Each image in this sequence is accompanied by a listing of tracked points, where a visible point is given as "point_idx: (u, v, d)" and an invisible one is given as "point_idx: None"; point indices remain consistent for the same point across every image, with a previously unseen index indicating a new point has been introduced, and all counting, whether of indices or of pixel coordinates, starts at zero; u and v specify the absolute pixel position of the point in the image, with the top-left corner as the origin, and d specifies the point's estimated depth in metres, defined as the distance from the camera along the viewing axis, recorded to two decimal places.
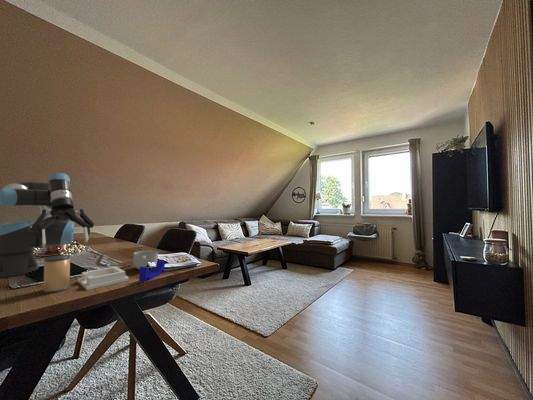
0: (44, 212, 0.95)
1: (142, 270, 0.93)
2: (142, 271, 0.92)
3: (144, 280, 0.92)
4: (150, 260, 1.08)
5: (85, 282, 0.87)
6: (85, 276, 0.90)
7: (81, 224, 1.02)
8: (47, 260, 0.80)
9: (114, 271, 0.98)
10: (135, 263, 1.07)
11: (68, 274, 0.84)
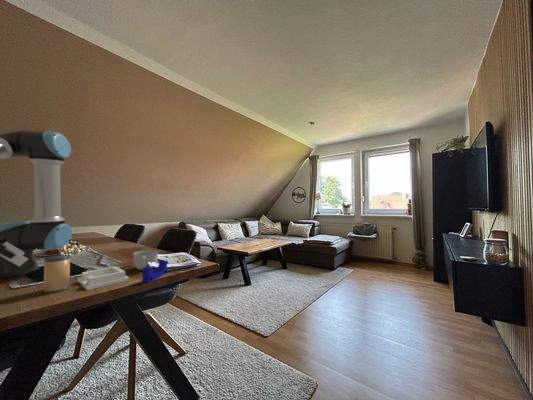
0: None
1: (145, 270, 0.92)
2: (145, 272, 0.92)
3: (147, 280, 0.92)
4: (150, 260, 1.08)
5: (85, 282, 0.87)
6: (85, 276, 0.90)
7: None
8: (47, 260, 0.80)
9: (114, 271, 0.98)
10: (135, 263, 1.07)
11: (68, 274, 0.84)
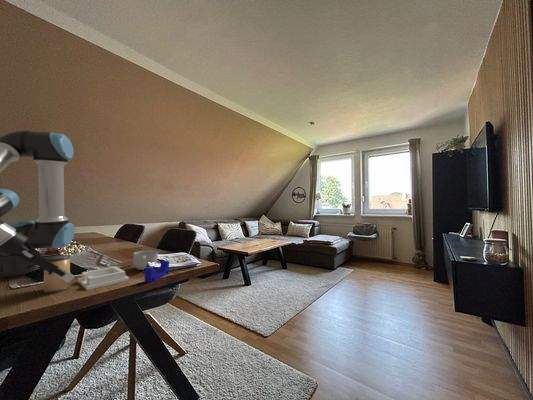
0: None
1: (147, 271, 0.92)
2: (147, 272, 0.92)
3: (150, 281, 0.92)
4: (150, 260, 1.08)
5: (85, 282, 0.87)
6: (85, 276, 0.90)
7: None
8: None
9: (114, 271, 0.98)
10: (135, 263, 1.07)
11: None
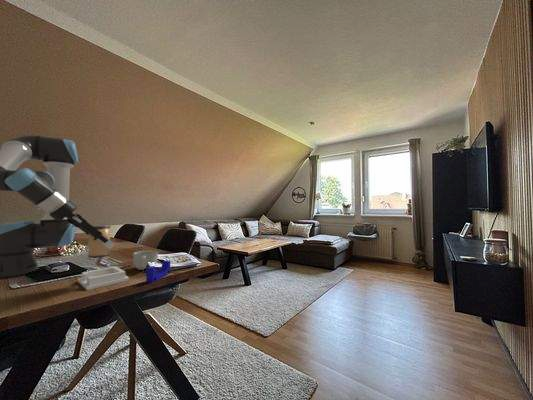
0: None
1: (149, 271, 0.92)
2: (149, 272, 0.92)
3: (151, 281, 0.91)
4: (150, 260, 1.08)
5: (85, 282, 0.87)
6: (85, 276, 0.90)
7: None
8: None
9: (114, 271, 0.98)
10: (135, 263, 1.07)
11: None
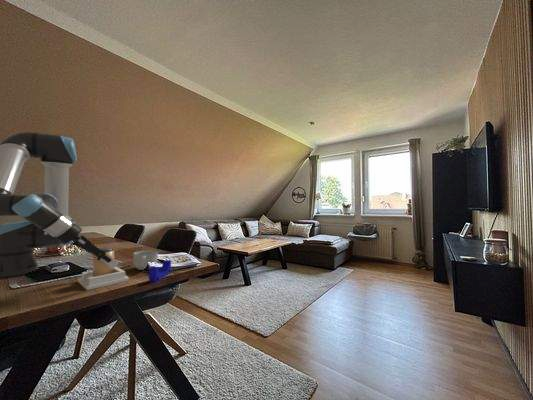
0: None
1: (152, 270, 0.92)
2: (152, 272, 0.92)
3: (154, 280, 0.92)
4: (150, 260, 1.08)
5: (85, 282, 0.87)
6: (85, 276, 0.90)
7: None
8: None
9: (114, 271, 0.98)
10: (135, 263, 1.07)
11: None
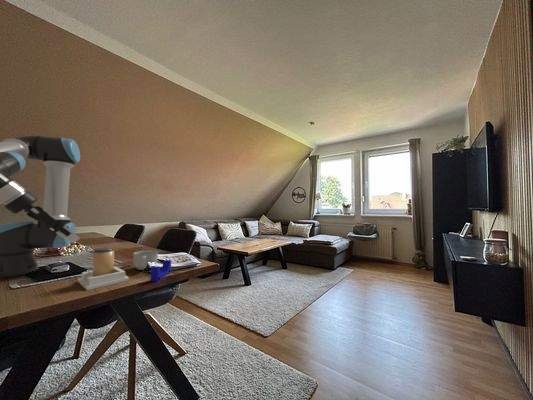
0: (28, 213, 0.81)
1: (154, 270, 0.93)
2: (154, 271, 0.93)
3: (156, 280, 0.93)
4: (150, 260, 1.08)
5: (85, 282, 0.87)
6: (85, 276, 0.90)
7: None
8: (96, 251, 0.89)
9: (114, 271, 0.98)
10: (135, 263, 1.07)
11: (113, 264, 0.94)
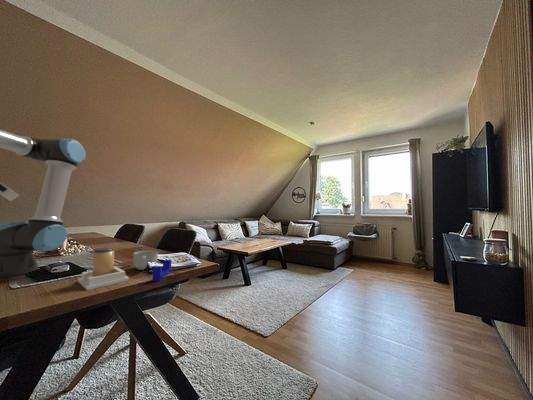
0: None
1: (156, 269, 0.93)
2: (156, 271, 0.93)
3: (158, 279, 0.93)
4: (150, 260, 1.08)
5: (85, 282, 0.87)
6: (85, 276, 0.90)
7: None
8: (96, 251, 0.89)
9: (114, 271, 0.98)
10: (135, 263, 1.07)
11: (113, 264, 0.94)
